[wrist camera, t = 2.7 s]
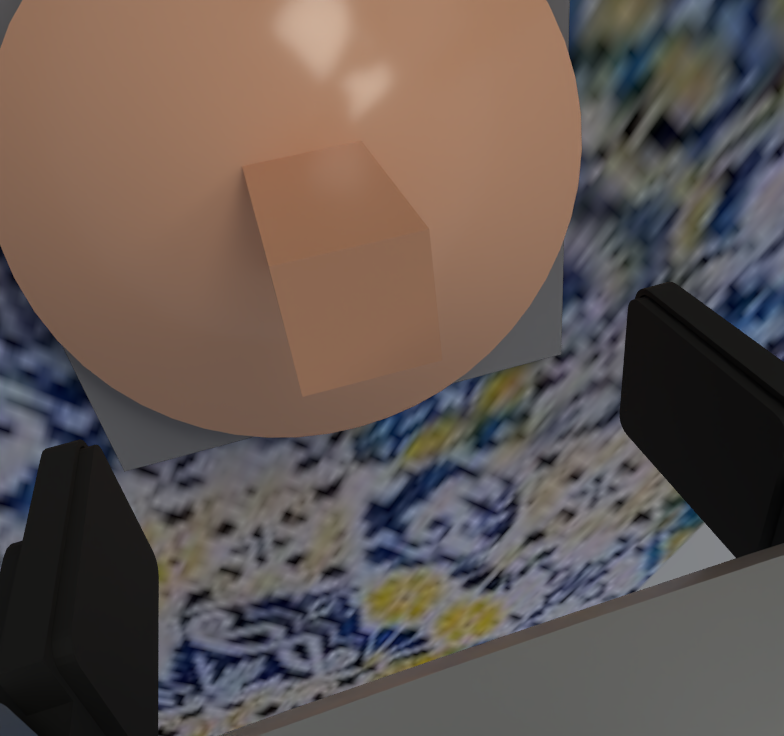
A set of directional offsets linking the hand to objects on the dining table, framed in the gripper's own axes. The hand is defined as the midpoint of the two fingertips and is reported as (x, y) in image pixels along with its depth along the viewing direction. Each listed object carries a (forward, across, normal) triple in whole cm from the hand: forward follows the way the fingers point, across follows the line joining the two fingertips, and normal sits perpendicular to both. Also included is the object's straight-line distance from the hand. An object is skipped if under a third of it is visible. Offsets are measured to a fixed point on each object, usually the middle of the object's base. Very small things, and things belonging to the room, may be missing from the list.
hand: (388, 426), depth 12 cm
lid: (+10, 0, 0) cm, 10 cm away
